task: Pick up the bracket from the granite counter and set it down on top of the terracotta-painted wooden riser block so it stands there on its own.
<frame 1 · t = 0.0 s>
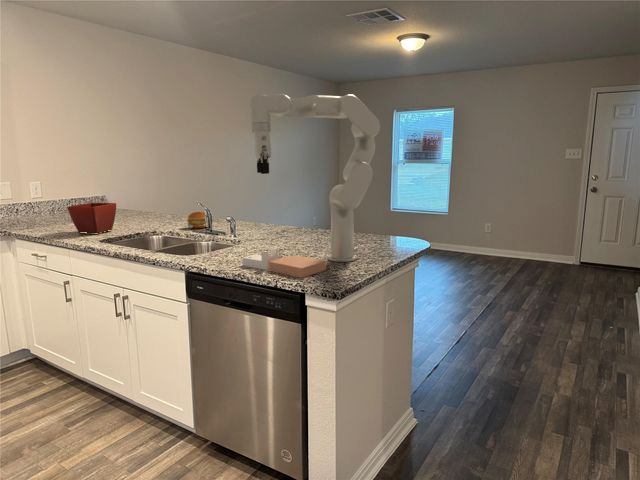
hand: (263, 173, 174), 37 cm above the worktop, tool pointing down, fingers open, 9 cm apart
riser block: (297, 271, 173), on the worktop
plant pot: (95, 233, 265), on the worktop
bracket: (260, 266, 181), on the worktop
burger: (198, 228, 277), on the worktop
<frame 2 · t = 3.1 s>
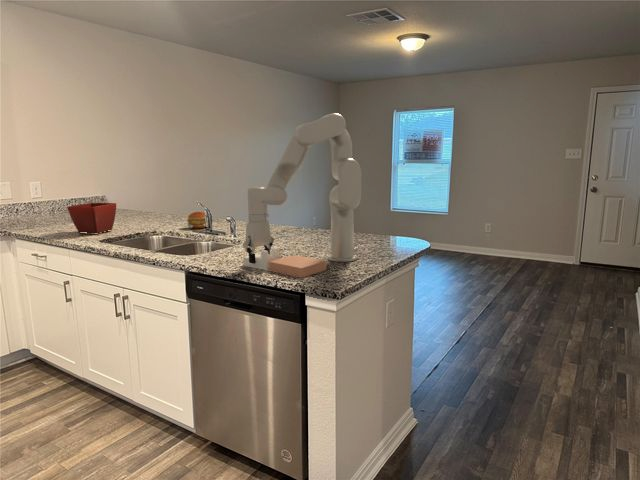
hand: (259, 260, 180), 2 cm above the worktop, tool pointing down, fingers closed on bracket, 7 cm apart
bracket: (261, 266, 181), on the worktop, touching gripper
everything else where it was.
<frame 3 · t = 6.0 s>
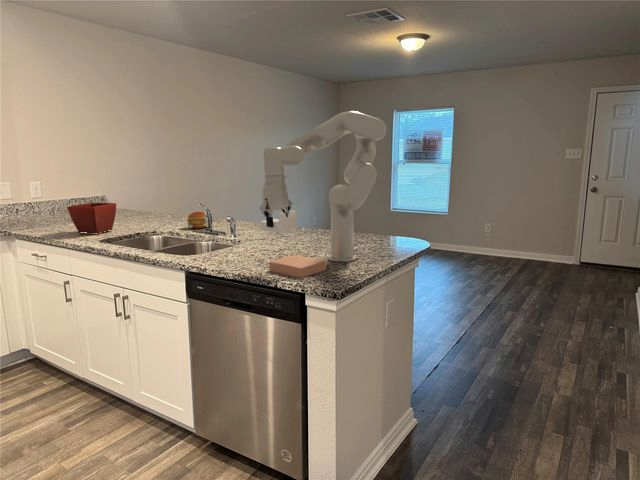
hand: (277, 225, 174), 17 cm above the worktop, tool pointing down, fingers closed on bracket, 7 cm apart
bracket: (279, 230, 174), point 15 cm above the worktop, touching gripper
everything else where it was.
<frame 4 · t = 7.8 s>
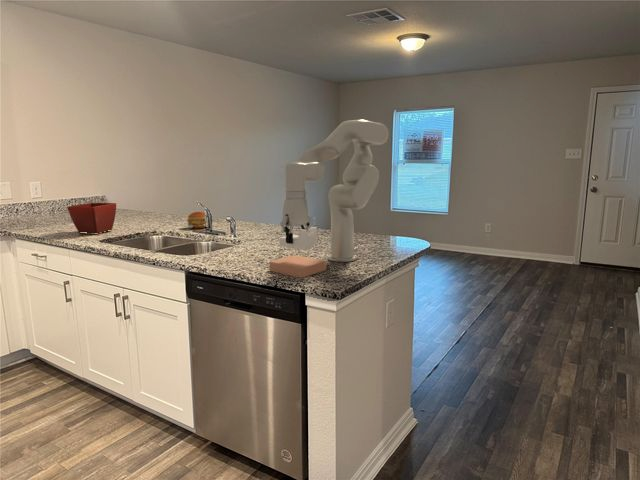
hand: (296, 241, 171), 11 cm above the worktop, tool pointing down, fingers closed on bracket, 7 cm apart
bracket: (298, 247, 171), point 9 cm above the worktop, touching gripper
everything else where it was.
when the fingers open (7 cm above the worktop, at t = 9.1 s): bracket drops 2 cm, resting on riser block.
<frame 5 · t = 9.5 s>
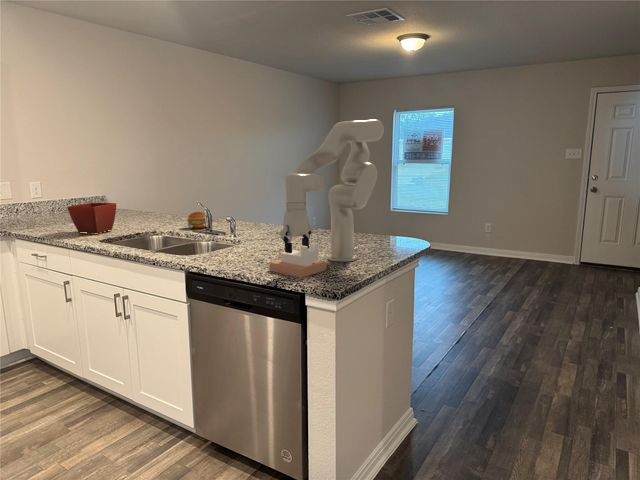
hand: (297, 250, 172), 8 cm above the worktop, tool pointing down, fingers open, 9 cm apart
riser block: (297, 271, 173), on the worktop, touching bracket
bracket: (299, 262, 172), point 3 cm above the worktop, touching riser block
everything else where it was.
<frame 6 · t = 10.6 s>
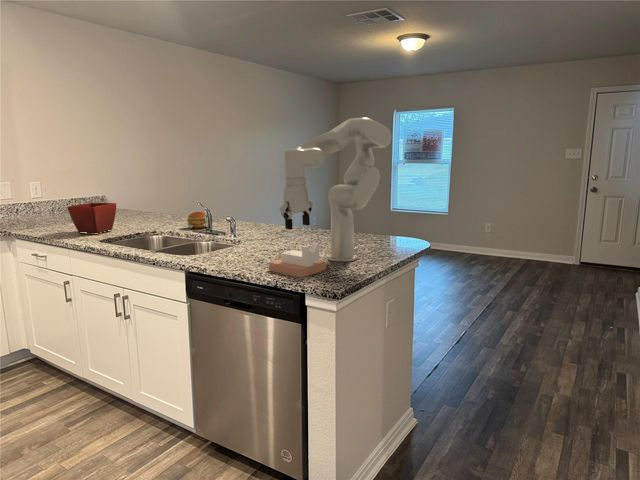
hand: (297, 227, 170), 17 cm above the worktop, tool pointing down, fingers open, 9 cm apart
nothing on the worktop moved.
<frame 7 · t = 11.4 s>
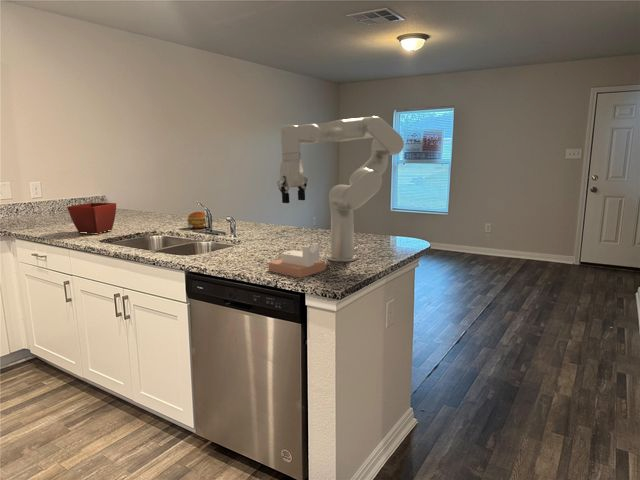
hand: (293, 201, 176), 26 cm above the worktop, tool pointing down, fingers open, 9 cm apart
nothing on the worktop moved.
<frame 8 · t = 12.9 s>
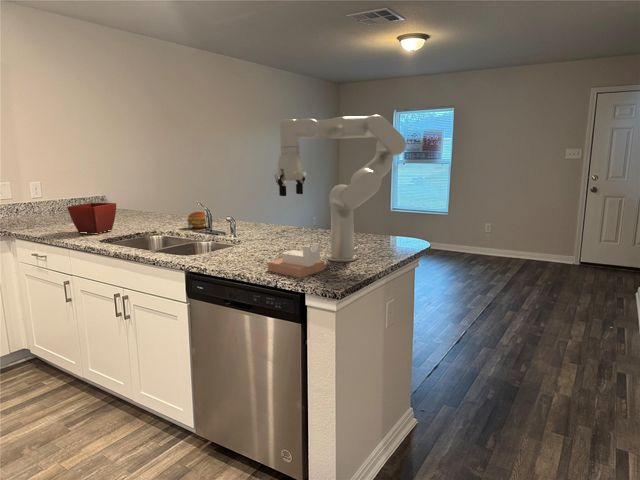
hand: (291, 194, 179), 28 cm above the worktop, tool pointing down, fingers open, 9 cm apart
nothing on the worktop moved.
at the end: bracket inside the target area on the riser block (2.4 cm from its centre), point 3.8 cm above the riser block's base; bracket touching riser block; bracket tilted 0° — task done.
